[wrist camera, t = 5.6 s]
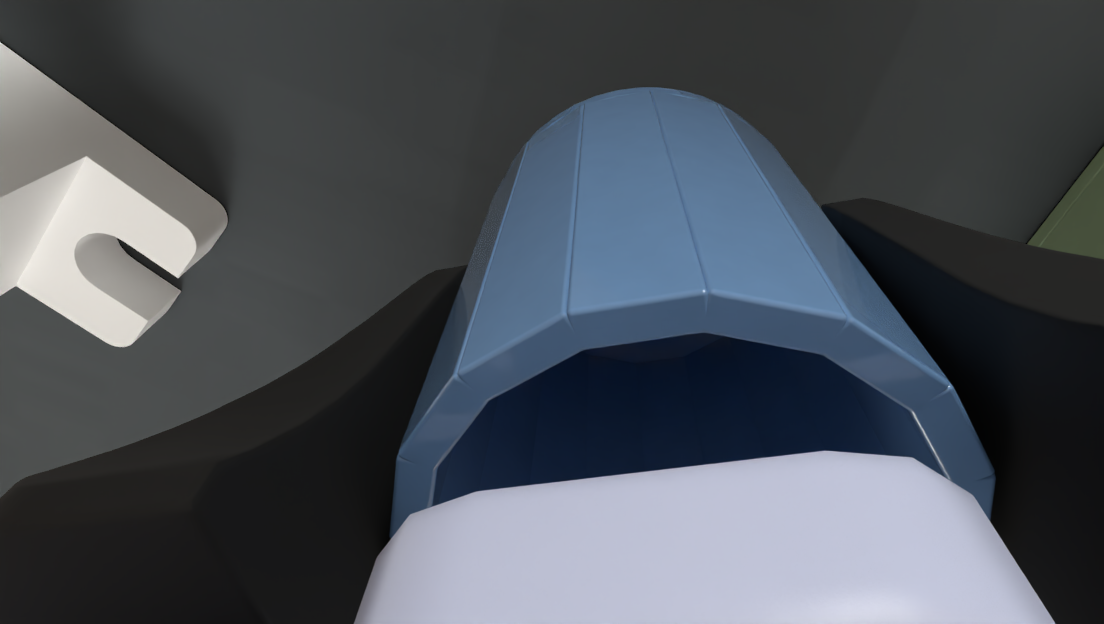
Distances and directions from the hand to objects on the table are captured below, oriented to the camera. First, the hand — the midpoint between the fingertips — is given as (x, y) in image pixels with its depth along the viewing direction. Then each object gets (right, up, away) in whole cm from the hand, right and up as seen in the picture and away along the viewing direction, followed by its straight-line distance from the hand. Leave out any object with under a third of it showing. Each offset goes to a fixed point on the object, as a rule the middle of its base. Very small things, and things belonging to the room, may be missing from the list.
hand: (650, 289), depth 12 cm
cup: (0, +1, +2) cm, 2 cm away
